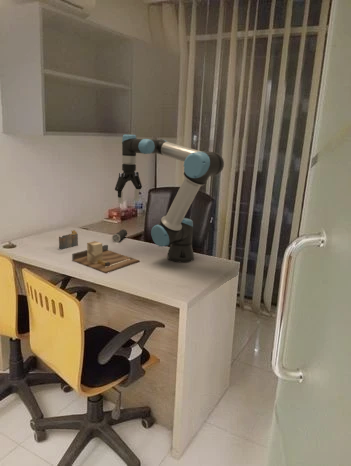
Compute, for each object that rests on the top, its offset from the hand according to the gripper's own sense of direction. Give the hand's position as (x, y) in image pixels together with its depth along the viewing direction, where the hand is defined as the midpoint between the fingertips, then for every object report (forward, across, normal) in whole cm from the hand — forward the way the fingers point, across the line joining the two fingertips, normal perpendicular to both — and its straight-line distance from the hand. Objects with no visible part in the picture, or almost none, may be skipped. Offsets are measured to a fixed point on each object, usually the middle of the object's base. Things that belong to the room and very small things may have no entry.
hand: (128, 201), depth 205 cm
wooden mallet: (+29, +27, +4) cm, 39 cm away
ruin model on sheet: (+29, +17, -32) cm, 46 cm away
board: (+29, +21, +2) cm, 36 cm away
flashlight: (+29, -16, -21) cm, 40 cm away
